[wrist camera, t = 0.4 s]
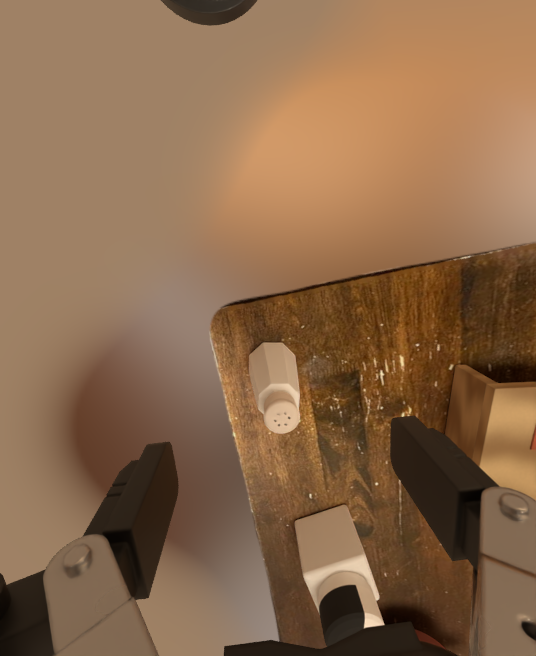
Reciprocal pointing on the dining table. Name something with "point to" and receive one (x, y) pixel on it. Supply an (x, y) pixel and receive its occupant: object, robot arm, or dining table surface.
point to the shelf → (495, 427)
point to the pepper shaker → (275, 386)
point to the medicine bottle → (337, 573)
